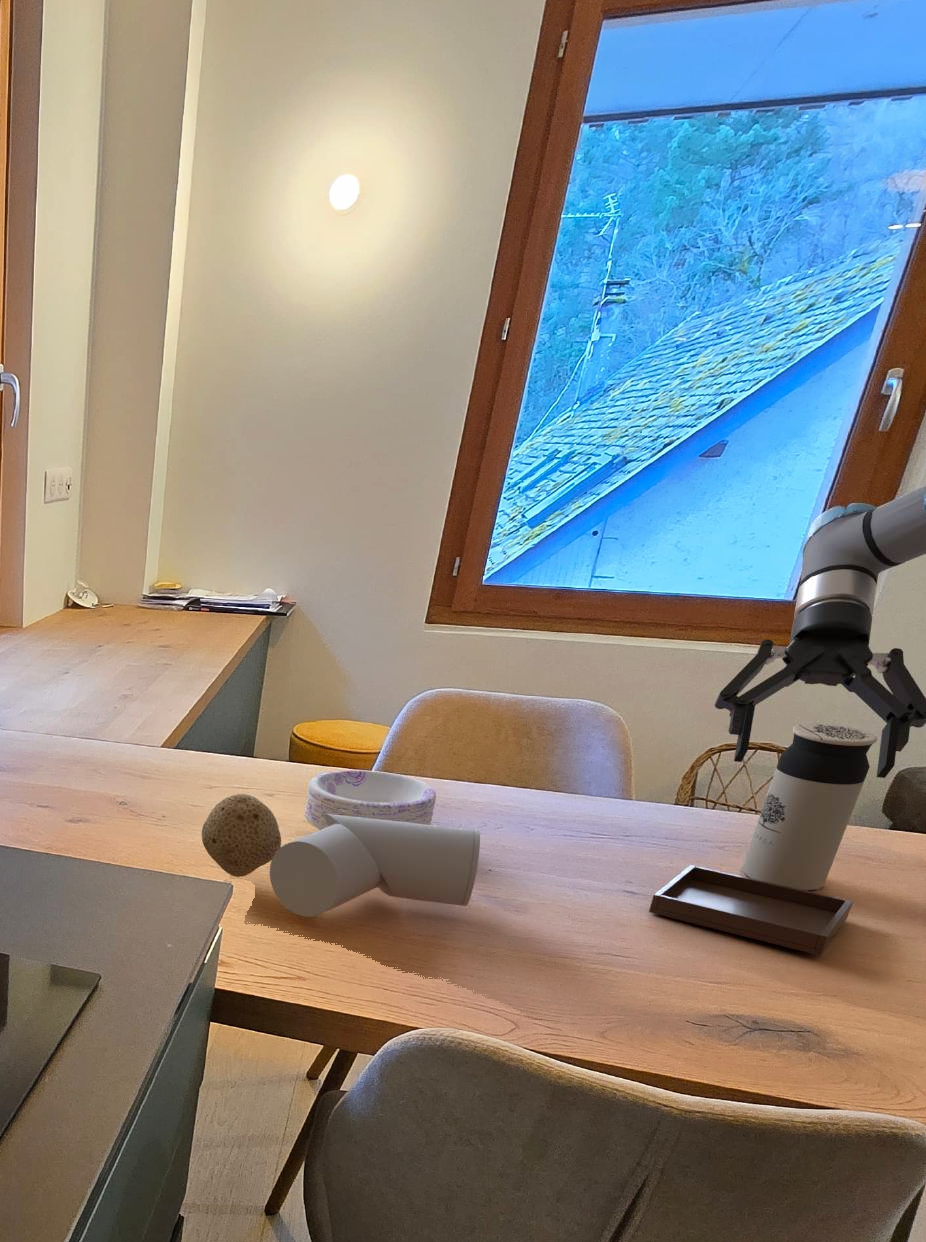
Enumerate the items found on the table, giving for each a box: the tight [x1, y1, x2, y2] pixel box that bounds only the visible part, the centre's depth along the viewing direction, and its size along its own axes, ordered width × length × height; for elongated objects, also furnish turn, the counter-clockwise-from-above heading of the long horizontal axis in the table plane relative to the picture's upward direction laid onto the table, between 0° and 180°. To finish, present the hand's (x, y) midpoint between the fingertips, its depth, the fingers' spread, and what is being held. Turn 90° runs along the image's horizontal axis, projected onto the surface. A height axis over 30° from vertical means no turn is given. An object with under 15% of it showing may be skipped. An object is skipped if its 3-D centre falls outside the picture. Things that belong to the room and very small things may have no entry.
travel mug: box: [741, 722, 878, 891], centre depth 120 cm, size 8×8×18 cm
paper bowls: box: [304, 769, 437, 831], centre depth 134 cm, size 15×15×8 cm
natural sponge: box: [201, 793, 282, 878], centre depth 123 cm, size 9×9×10 cm
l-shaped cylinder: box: [269, 814, 481, 918], centre depth 115 cm, size 18×11×20 cm
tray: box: [648, 864, 854, 956], centre depth 114 cm, size 15×14×2 cm
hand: (811, 763), depth 122 cm, fingers open, 13 cm apart
